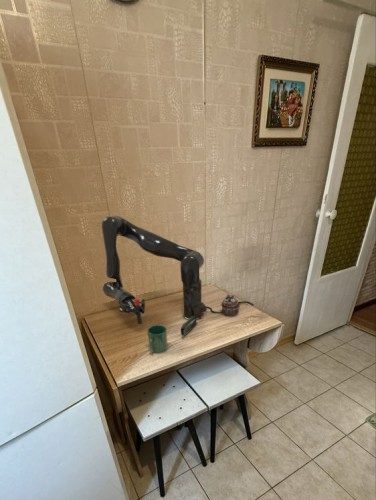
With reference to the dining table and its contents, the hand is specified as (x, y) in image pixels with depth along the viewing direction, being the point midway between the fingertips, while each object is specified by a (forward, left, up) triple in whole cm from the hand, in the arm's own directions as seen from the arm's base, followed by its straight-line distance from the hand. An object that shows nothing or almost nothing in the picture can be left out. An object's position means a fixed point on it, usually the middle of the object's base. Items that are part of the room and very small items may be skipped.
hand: (140, 312), depth 126 cm
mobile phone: (-21, -3, -12) cm, 25 cm away
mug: (-8, +12, -12) cm, 19 cm away
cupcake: (-43, -20, -12) cm, 49 cm away
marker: (+2, -2, -7) cm, 8 cm away
